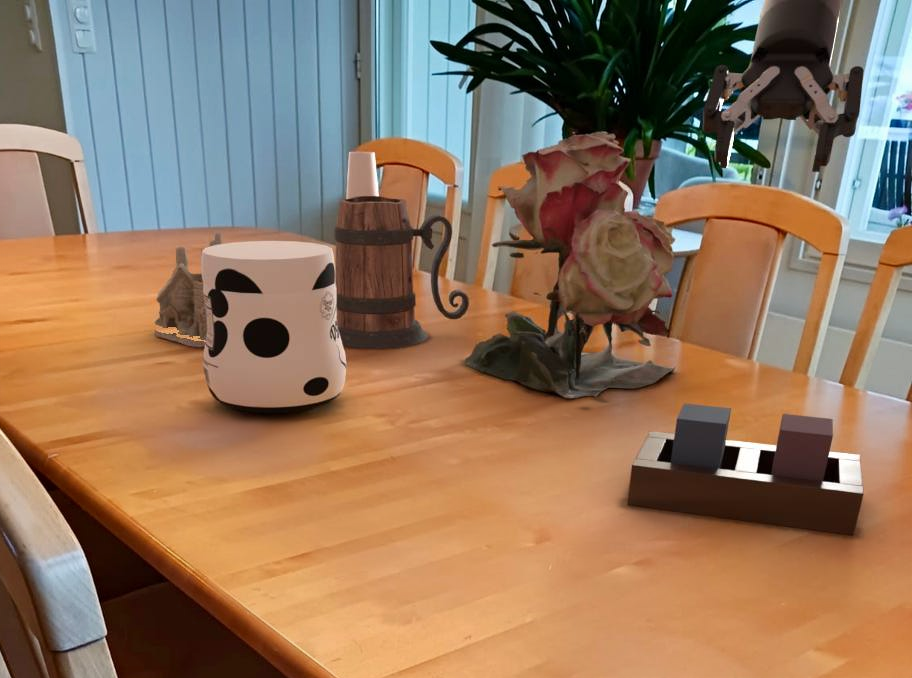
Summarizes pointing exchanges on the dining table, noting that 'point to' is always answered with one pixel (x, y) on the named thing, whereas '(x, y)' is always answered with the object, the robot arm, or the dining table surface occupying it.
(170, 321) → the ceramic cottage
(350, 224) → the tankard
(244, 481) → the dining table surface
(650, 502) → the frame
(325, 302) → the milk container
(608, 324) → the rose bouquet
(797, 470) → the seated pad
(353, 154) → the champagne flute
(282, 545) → the dining table surface
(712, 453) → the blue-gray rectangular block
